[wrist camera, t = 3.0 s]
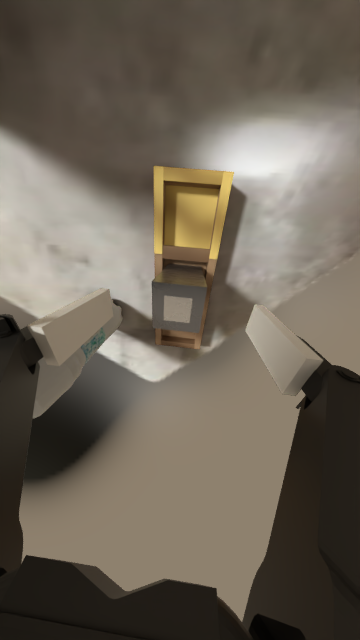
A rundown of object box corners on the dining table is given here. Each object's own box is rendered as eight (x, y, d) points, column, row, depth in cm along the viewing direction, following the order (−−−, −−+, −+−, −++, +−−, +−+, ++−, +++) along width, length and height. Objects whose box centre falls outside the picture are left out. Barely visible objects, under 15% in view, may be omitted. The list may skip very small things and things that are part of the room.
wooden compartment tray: (159, 175, 17) (153, 165, 14) (228, 181, 16) (233, 172, 14) (158, 336, 28) (155, 344, 26) (199, 340, 28) (199, 349, 26)
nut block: (169, 263, 20) (151, 281, 11) (201, 266, 20) (207, 287, 11) (168, 293, 22) (152, 328, 14) (196, 296, 22) (199, 333, 14)
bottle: (131, 303, 25) (-7, 450, 8) (121, 331, 28) (8, 479, 11) (93, 285, 24) (-169, 410, 7) (87, 316, 27) (-99, 455, 10)
